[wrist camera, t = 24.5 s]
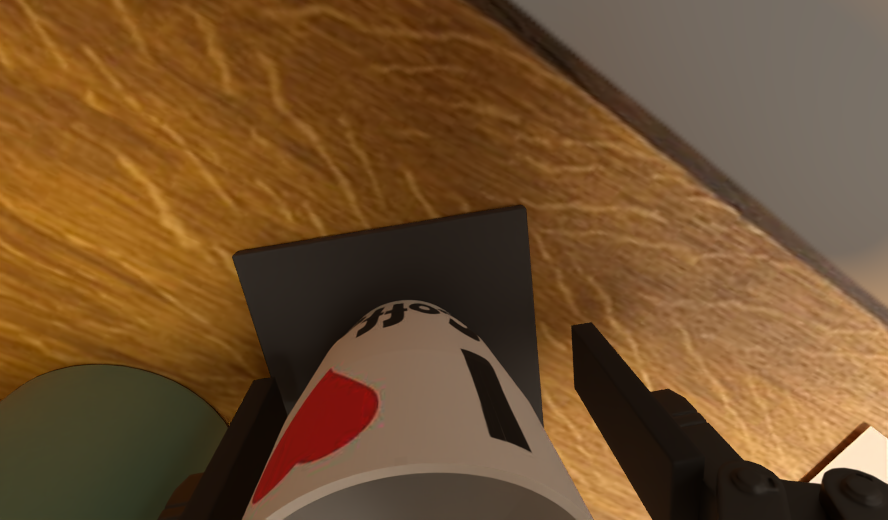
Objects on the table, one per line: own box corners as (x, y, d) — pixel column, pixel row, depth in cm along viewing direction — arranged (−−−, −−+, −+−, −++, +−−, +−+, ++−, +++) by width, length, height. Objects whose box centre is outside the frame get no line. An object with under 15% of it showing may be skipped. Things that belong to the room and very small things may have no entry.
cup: (502, 253, 17) (629, 434, 8) (507, 424, 20) (605, 709, 11) (288, 275, 17) (151, 498, 7) (323, 448, 19) (257, 772, 10)
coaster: (522, 204, 17) (526, 207, 17) (541, 430, 21) (545, 440, 21) (236, 251, 17) (230, 256, 16) (307, 475, 21) (305, 485, 20)
